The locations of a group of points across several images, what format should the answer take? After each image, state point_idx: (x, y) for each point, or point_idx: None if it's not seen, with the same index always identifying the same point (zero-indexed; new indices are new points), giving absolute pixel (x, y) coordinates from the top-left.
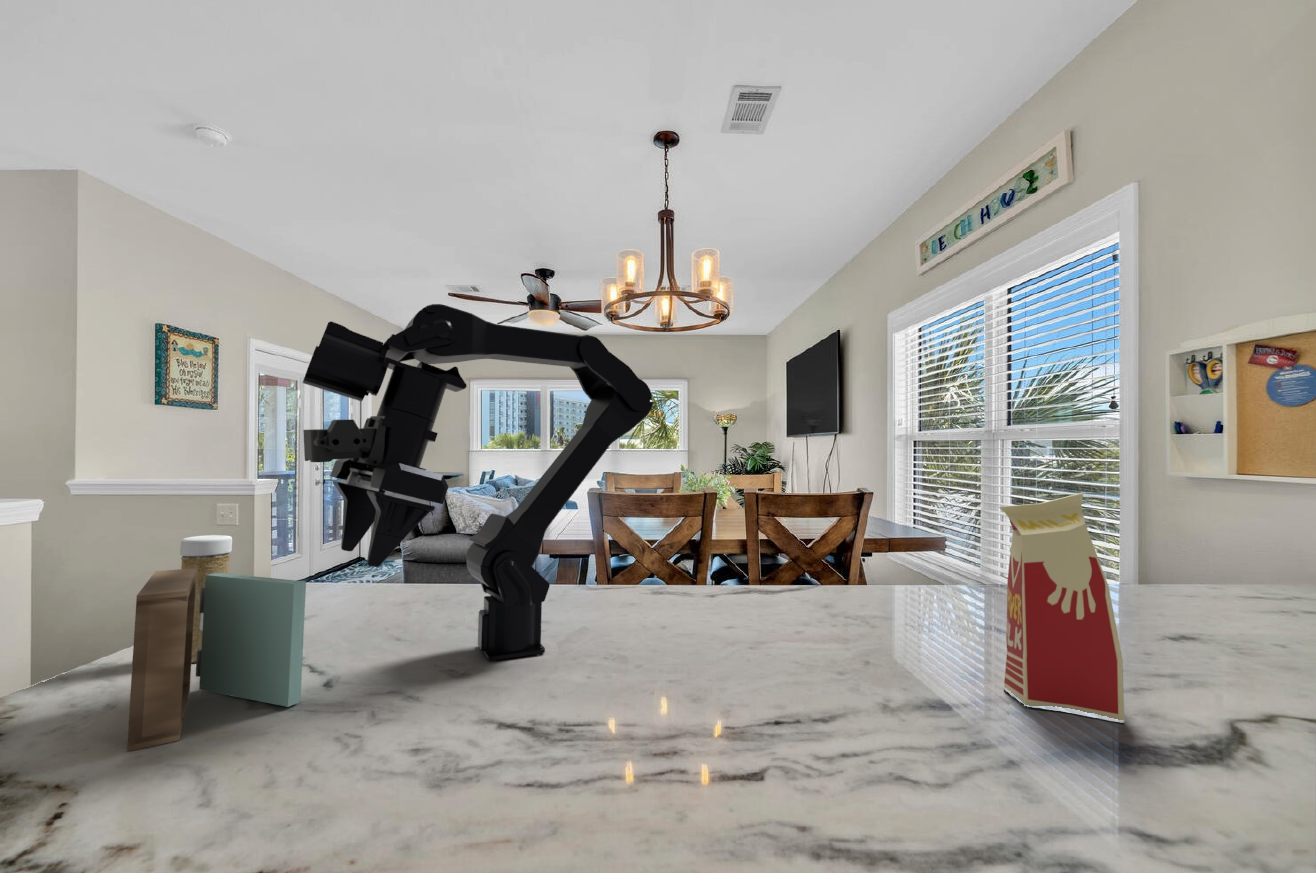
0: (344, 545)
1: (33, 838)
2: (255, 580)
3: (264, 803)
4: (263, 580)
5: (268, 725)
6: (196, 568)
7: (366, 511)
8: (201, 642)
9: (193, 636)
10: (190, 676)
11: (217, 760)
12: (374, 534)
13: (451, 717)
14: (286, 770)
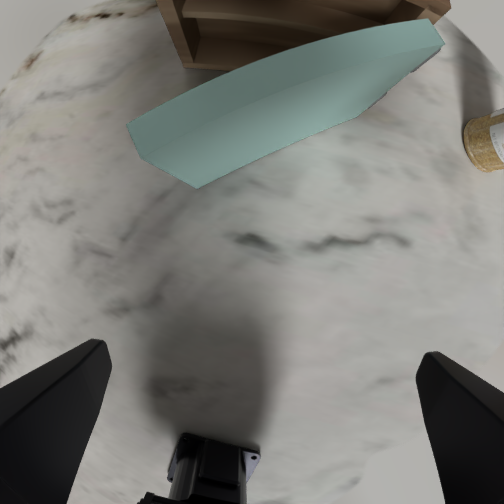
0: (430, 364)
1: (85, 13)
2: (275, 56)
3: (14, 133)
4: (249, 67)
5: None
6: (446, 5)
7: (477, 499)
8: (479, 133)
9: (486, 122)
10: None
11: (104, 98)
12: (10, 387)
13: (48, 313)
14: (43, 150)
